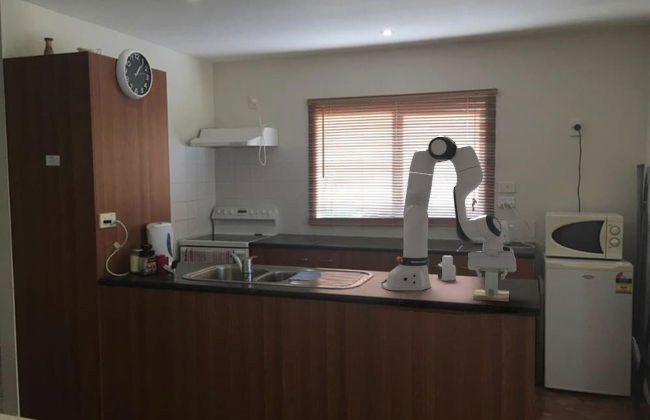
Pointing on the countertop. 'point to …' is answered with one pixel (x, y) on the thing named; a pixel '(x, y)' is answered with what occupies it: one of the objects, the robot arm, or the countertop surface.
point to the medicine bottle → (446, 268)
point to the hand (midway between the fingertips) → (491, 277)
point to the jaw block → (491, 282)
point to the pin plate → (494, 298)
